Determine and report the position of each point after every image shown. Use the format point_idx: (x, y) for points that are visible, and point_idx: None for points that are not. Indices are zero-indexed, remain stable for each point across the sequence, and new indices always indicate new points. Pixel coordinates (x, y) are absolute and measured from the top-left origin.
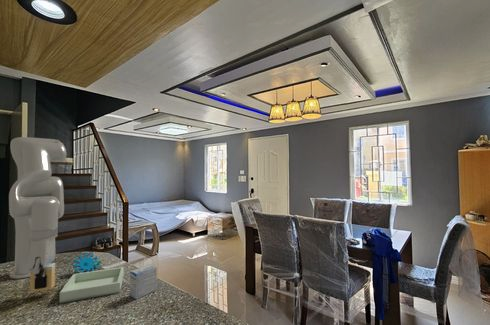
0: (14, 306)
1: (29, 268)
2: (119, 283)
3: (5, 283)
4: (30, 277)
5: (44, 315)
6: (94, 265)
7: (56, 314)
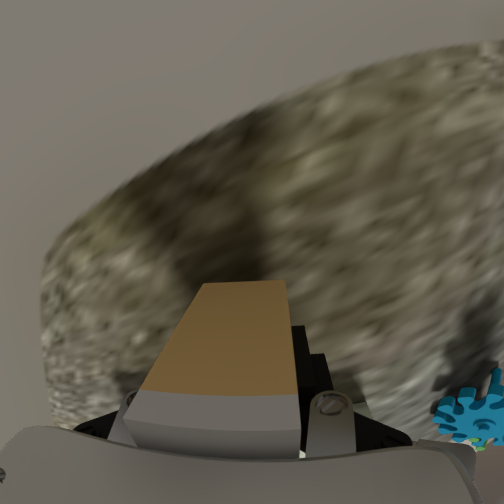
0: (152, 215)
1: (16, 441)
2: None
3: (490, 44)
4: (164, 348)
5: (65, 373)
6: (467, 434)
7: (72, 401)
